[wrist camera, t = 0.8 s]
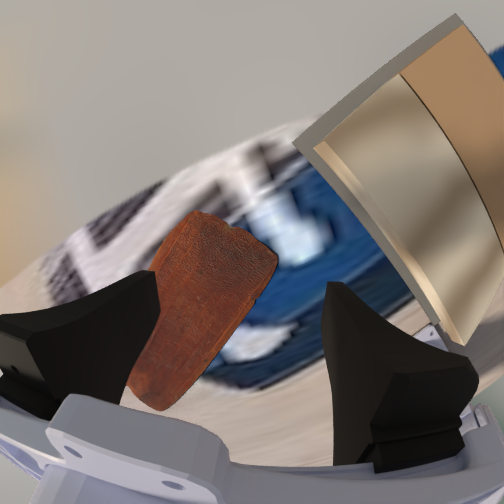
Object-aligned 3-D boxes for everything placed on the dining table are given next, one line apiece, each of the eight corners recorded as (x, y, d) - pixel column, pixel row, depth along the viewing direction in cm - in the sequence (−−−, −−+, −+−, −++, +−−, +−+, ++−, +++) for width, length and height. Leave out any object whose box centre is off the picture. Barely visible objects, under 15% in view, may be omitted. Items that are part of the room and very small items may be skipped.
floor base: (550, 199, 17) (565, 205, 14) (430, 320, 23) (439, 335, 21) (450, 16, 13) (463, 7, 11) (291, 142, 20) (291, 142, 17)
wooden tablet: (166, 409, 33) (161, 418, 32) (101, 367, 32) (95, 375, 31) (297, 262, 23) (297, 271, 22) (192, 190, 22) (185, 194, 21)
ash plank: (495, 265, 19) (508, 267, 18) (451, 340, 18) (464, 346, 17) (386, 82, 16) (398, 73, 14) (312, 148, 15) (324, 140, 14)
